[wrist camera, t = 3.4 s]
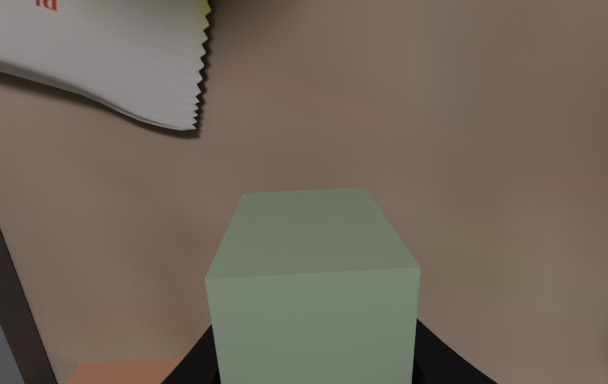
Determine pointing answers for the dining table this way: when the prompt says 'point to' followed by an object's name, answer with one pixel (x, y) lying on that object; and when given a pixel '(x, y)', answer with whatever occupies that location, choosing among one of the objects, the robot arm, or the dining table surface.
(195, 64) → the food package
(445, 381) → the robot arm
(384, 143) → the dining table surface
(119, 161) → the dining table surface
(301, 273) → the green brick
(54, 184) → the dining table surface
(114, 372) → the terracotta brick
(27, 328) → the tray
